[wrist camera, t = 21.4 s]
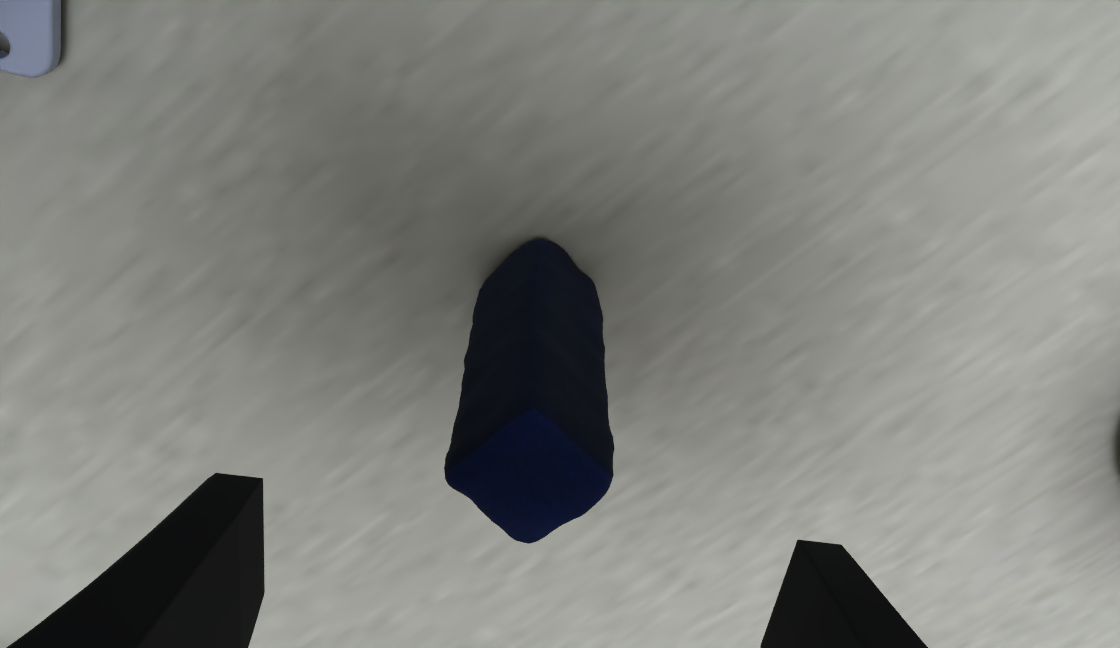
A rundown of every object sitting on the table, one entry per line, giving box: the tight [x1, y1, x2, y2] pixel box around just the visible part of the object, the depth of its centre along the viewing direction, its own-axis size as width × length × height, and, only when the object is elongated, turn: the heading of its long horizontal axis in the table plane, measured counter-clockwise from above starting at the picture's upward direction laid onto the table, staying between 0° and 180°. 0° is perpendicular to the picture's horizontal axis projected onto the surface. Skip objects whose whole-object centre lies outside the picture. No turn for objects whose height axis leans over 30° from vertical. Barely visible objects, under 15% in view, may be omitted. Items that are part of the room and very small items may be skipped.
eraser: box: [444, 239, 614, 543], centre depth 17 cm, size 2×2×7 cm
